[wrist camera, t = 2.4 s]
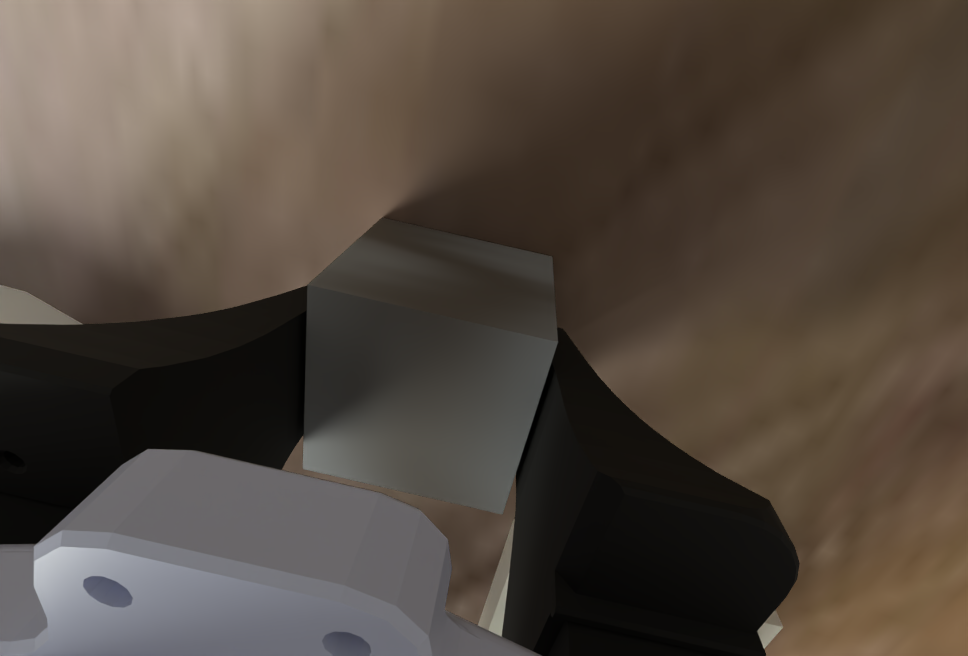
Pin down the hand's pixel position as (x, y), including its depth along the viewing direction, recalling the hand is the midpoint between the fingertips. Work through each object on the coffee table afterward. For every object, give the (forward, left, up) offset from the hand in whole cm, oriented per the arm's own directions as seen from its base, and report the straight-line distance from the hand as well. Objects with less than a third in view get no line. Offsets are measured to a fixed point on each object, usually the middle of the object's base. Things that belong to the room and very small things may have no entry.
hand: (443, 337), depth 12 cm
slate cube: (0, 0, -1) cm, 1 cm away
